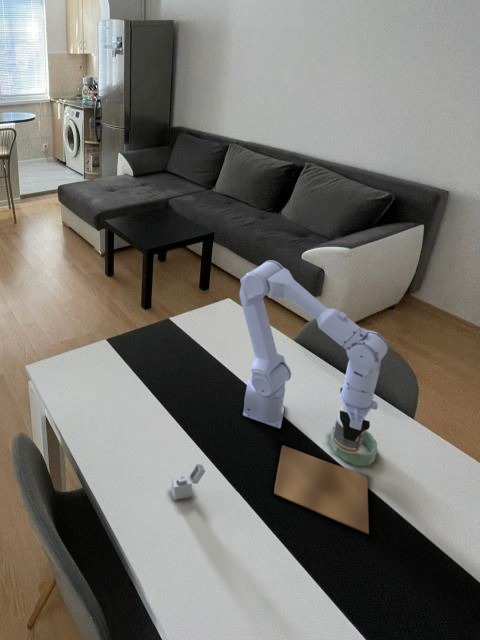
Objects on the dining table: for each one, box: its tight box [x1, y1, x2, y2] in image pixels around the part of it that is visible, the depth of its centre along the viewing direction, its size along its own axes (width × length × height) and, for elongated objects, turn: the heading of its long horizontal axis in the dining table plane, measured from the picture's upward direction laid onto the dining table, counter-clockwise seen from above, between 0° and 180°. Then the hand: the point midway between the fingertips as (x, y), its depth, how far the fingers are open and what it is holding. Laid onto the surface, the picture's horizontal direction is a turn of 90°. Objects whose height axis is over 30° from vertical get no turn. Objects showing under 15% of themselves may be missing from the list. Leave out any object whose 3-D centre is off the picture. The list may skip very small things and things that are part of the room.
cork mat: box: [273, 444, 370, 535], centre depth 97 cm, size 18×14×1 cm
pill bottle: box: [333, 404, 366, 453], centre depth 99 cm, size 6×6×10 cm
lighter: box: [171, 463, 206, 501], centre depth 96 cm, size 7×2×8 cm, turn 99°
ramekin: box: [330, 425, 378, 467], centre depth 105 cm, size 9×9×4 cm
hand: (349, 428), depth 99 cm, fingers closed on pill bottle, 6 cm apart
